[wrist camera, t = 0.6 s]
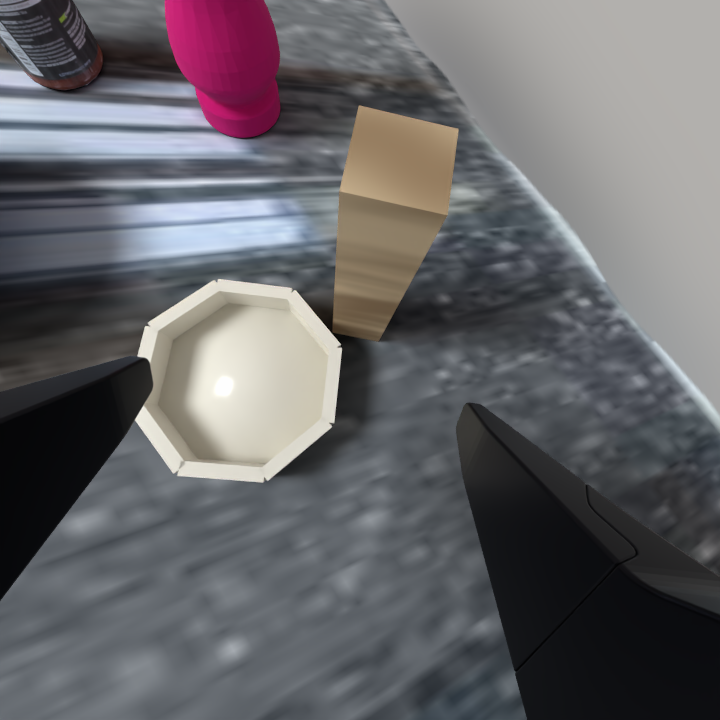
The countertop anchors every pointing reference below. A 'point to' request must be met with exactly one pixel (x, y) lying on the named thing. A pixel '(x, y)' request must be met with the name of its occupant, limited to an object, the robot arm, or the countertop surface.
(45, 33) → the supplement bottle
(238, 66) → the pepper mill
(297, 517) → the countertop surface
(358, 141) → the tall wooden post
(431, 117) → the countertop surface
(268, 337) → the bowl
